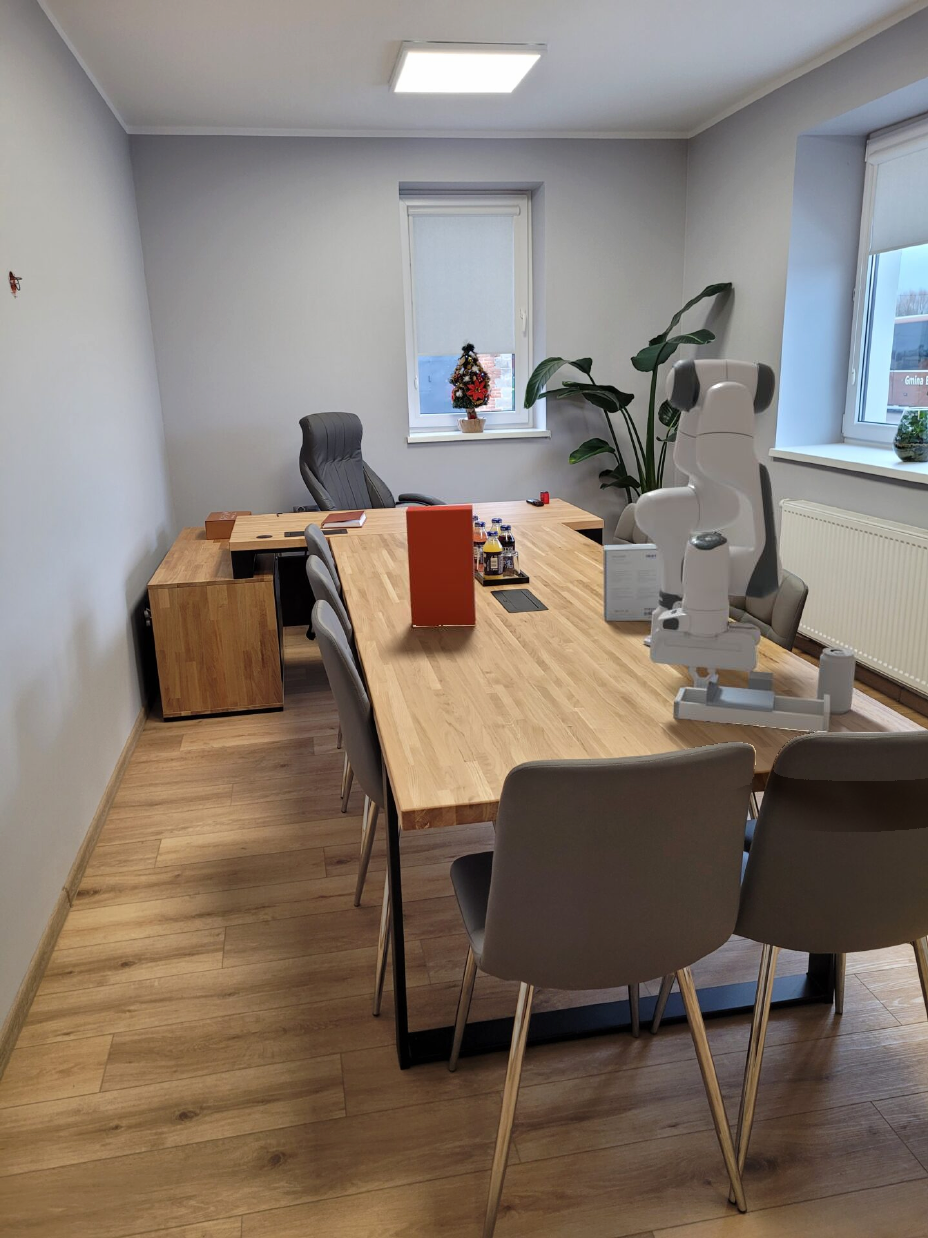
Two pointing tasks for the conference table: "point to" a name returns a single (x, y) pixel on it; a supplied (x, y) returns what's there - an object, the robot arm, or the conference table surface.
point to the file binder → (441, 565)
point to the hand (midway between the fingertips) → (701, 687)
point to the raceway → (782, 716)
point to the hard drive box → (631, 581)
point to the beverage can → (836, 678)
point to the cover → (738, 697)
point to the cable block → (760, 681)
